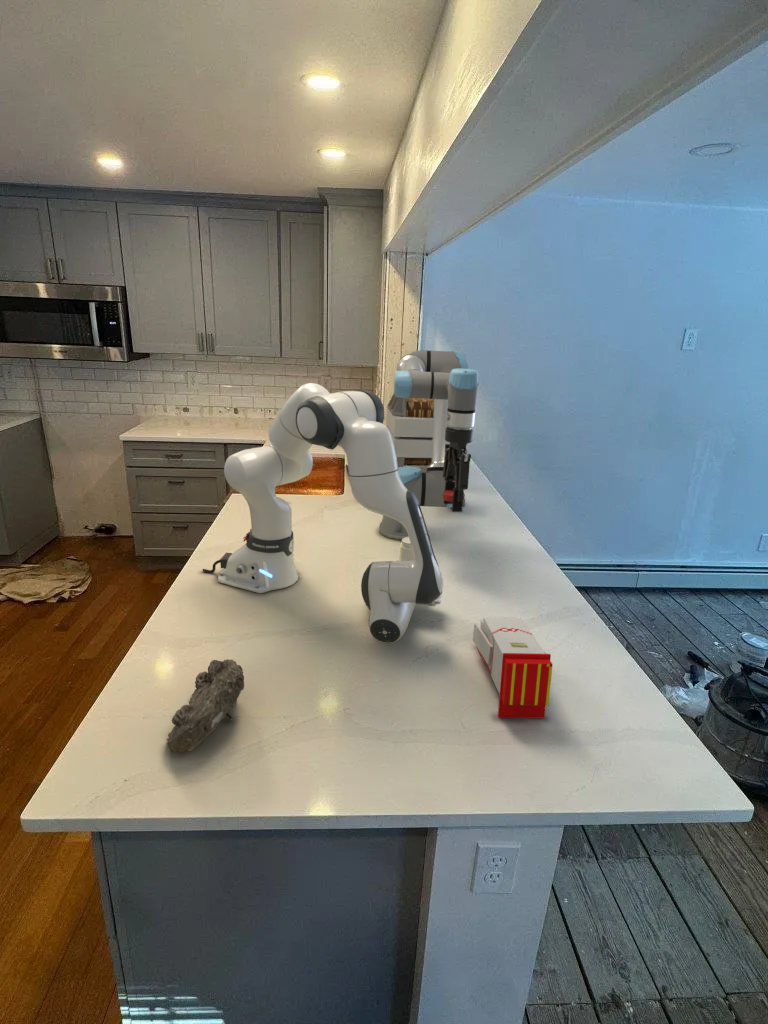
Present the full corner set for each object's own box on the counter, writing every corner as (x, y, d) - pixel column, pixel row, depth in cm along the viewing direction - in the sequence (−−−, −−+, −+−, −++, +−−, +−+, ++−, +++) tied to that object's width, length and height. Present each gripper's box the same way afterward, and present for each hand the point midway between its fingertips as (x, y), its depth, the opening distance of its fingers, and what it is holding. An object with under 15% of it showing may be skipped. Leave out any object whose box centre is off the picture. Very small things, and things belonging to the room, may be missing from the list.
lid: (439, 496, 164) (439, 490, 163) (458, 495, 165) (459, 489, 165) (447, 502, 158) (448, 496, 158) (467, 501, 160) (468, 495, 159)
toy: (519, 602, 136) (561, 660, 107) (515, 654, 139) (554, 724, 109) (469, 601, 136) (497, 659, 106) (465, 653, 138) (492, 723, 109)
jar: (416, 594, 158) (420, 536, 152) (416, 603, 153) (420, 544, 147) (397, 593, 158) (400, 535, 153) (396, 602, 153) (399, 543, 147)
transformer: (382, 463, 289) (386, 382, 275) (445, 464, 293) (451, 384, 279) (390, 482, 257) (394, 392, 243) (460, 483, 261) (468, 394, 247)
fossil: (192, 660, 117) (244, 628, 112) (224, 691, 120) (276, 661, 115) (142, 746, 98) (202, 712, 93) (182, 779, 101) (242, 748, 96)
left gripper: (440, 594, 139) (447, 570, 151) (360, 582, 142) (373, 560, 155) (438, 616, 141) (445, 591, 153) (359, 604, 145) (372, 581, 157)
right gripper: (435, 420, 163) (429, 497, 170) (459, 434, 145) (452, 519, 153) (459, 420, 164) (453, 496, 172) (486, 434, 147) (477, 517, 155)
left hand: (408, 575), depth 154 cm, fingers closed on jar, 5 cm apart
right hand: (452, 507), depth 163 cm, fingers closed on lid, 6 cm apart
